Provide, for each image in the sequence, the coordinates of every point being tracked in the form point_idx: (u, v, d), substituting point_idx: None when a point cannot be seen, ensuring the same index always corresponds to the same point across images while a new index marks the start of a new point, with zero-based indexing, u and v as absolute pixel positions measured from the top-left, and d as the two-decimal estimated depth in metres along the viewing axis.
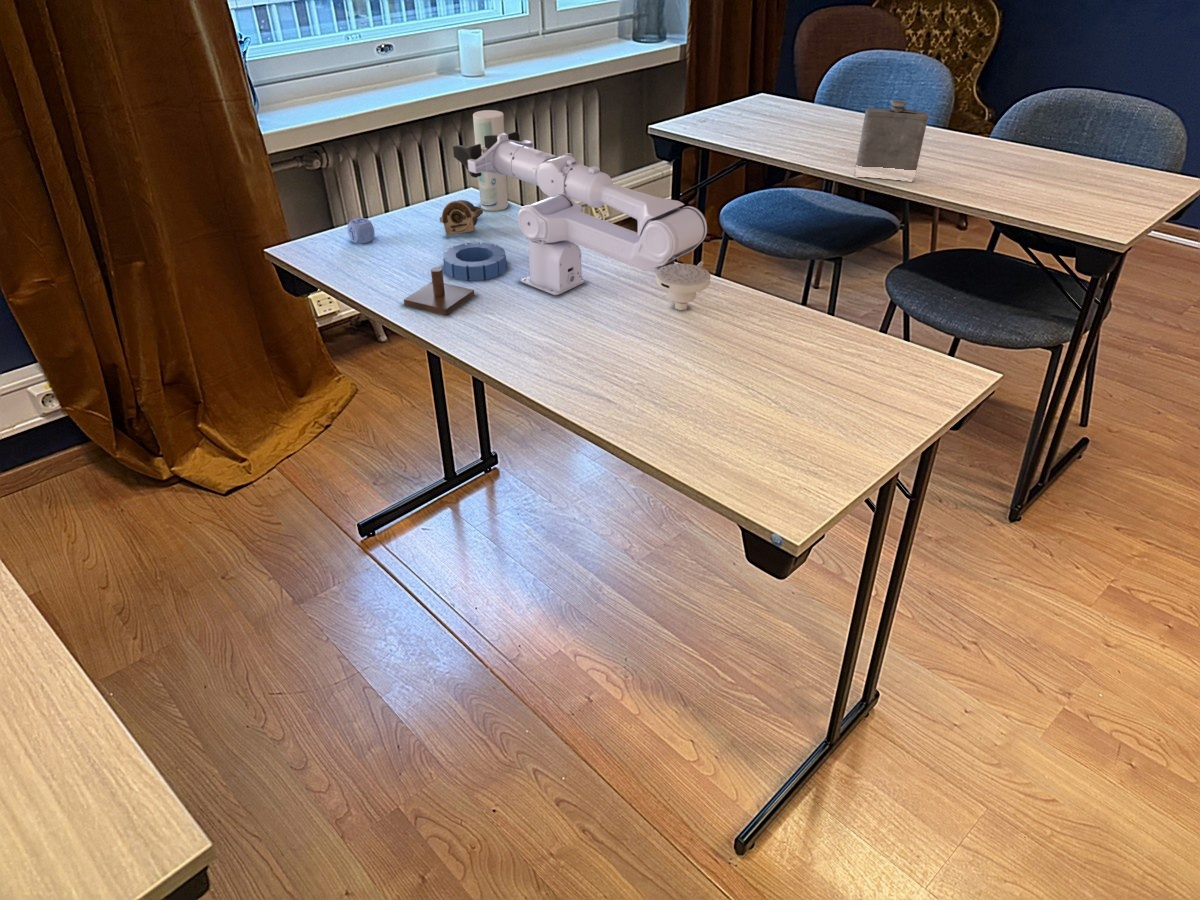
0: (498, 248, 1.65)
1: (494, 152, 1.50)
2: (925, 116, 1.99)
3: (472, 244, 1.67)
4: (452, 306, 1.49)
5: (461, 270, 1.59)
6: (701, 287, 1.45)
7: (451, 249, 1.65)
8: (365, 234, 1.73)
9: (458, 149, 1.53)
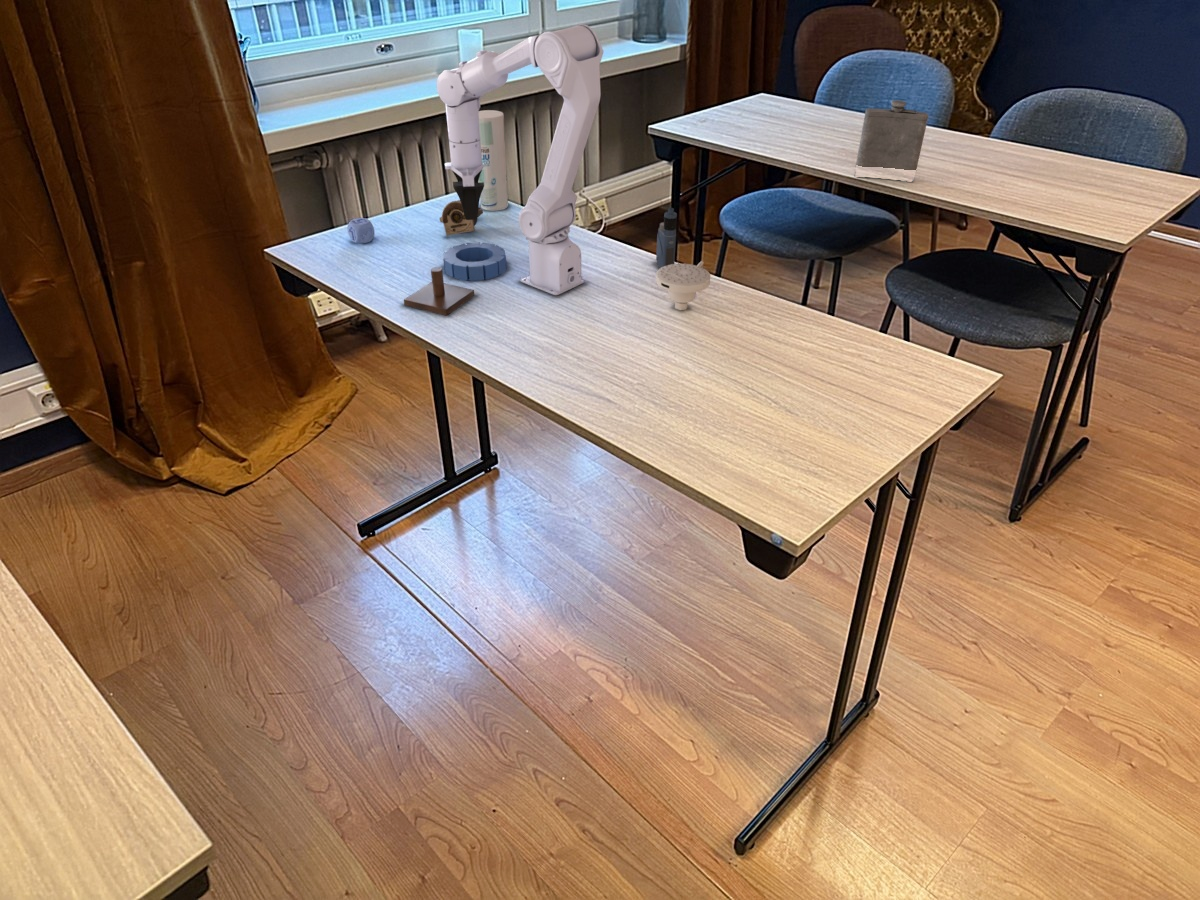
0: (498, 248, 1.65)
1: (458, 168, 1.55)
2: (925, 116, 1.99)
3: (472, 244, 1.67)
4: (452, 306, 1.49)
5: (461, 270, 1.59)
6: (701, 287, 1.45)
7: (451, 249, 1.65)
8: (365, 234, 1.73)
9: (466, 211, 1.58)
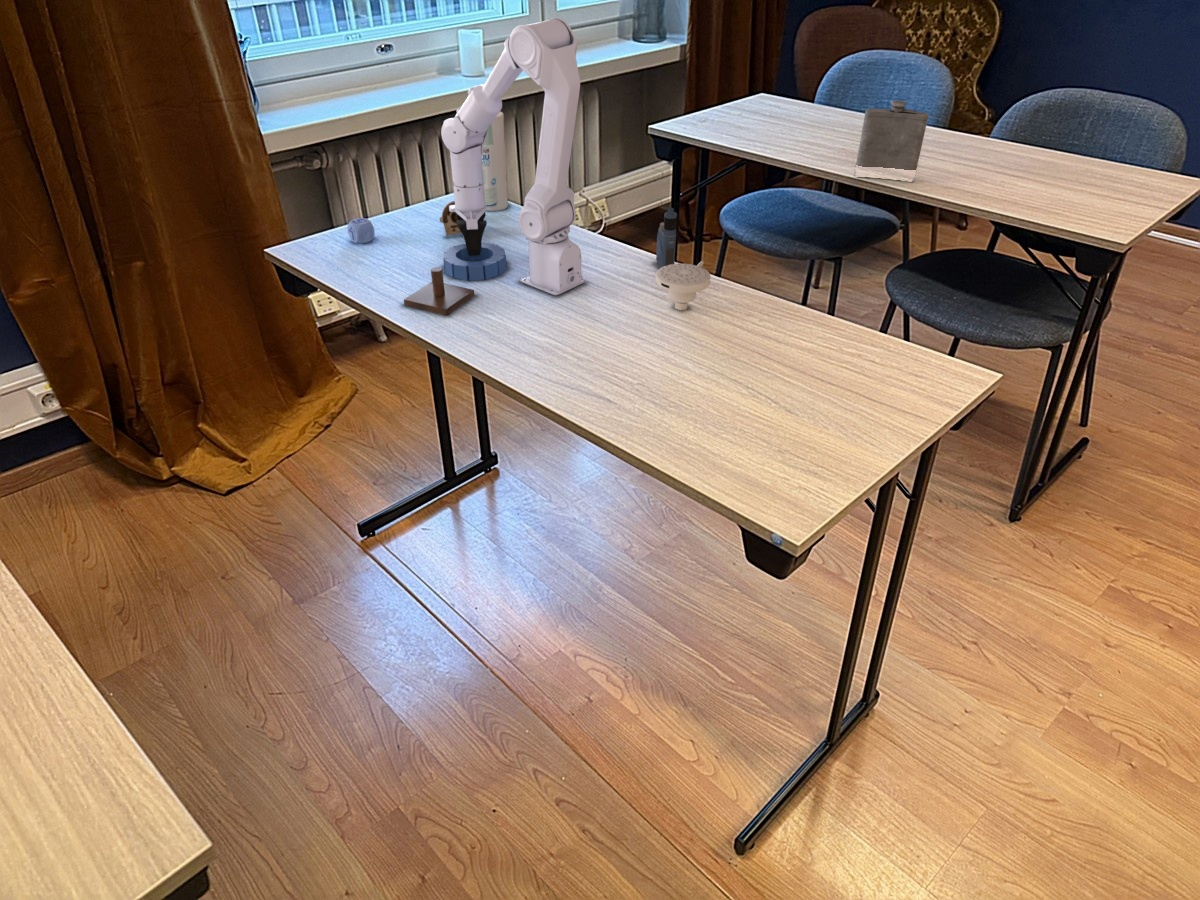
0: (498, 248, 1.65)
1: (462, 211, 1.60)
2: (925, 116, 1.99)
3: None
4: (452, 306, 1.49)
5: (461, 270, 1.59)
6: (701, 287, 1.45)
7: (451, 248, 1.65)
8: (365, 234, 1.73)
9: (469, 247, 1.64)
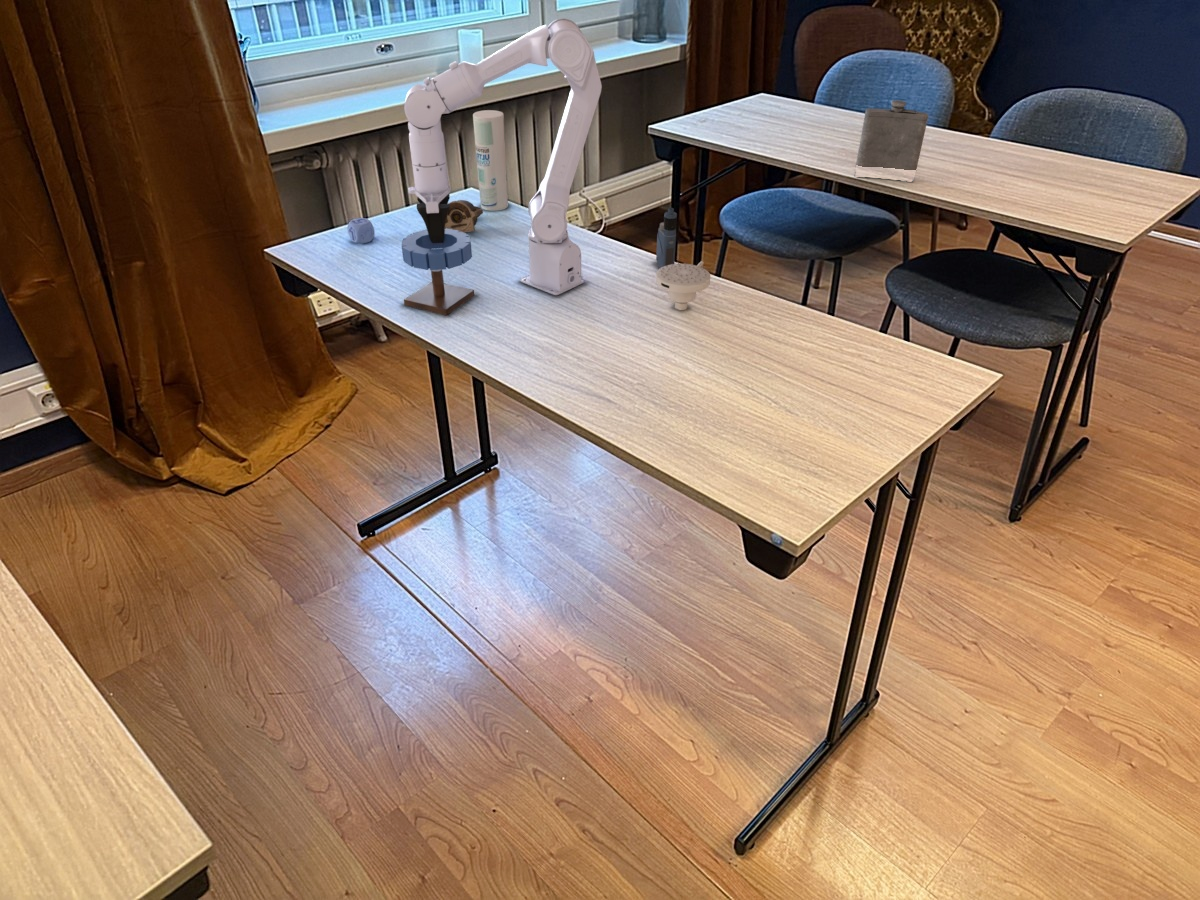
0: (463, 234, 1.50)
1: (422, 193, 1.44)
2: (925, 116, 1.99)
3: None
4: (452, 306, 1.49)
5: (420, 258, 1.43)
6: (701, 287, 1.45)
7: (411, 235, 1.49)
8: (365, 234, 1.73)
9: (431, 234, 1.49)
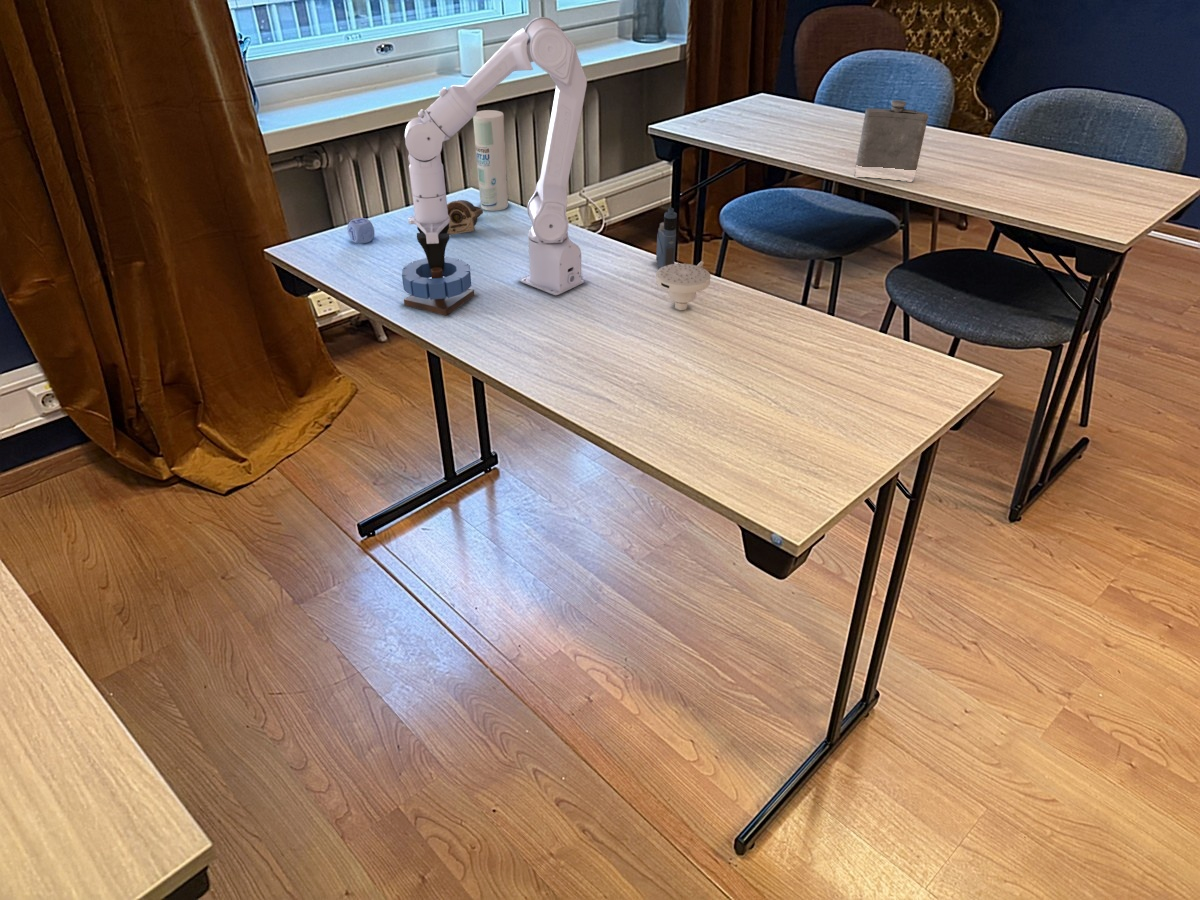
0: (462, 263, 1.52)
1: (422, 223, 1.46)
2: (925, 116, 1.99)
3: None
4: (452, 306, 1.49)
5: (420, 288, 1.45)
6: (701, 287, 1.45)
7: (411, 264, 1.51)
8: (365, 234, 1.73)
9: (431, 263, 1.51)
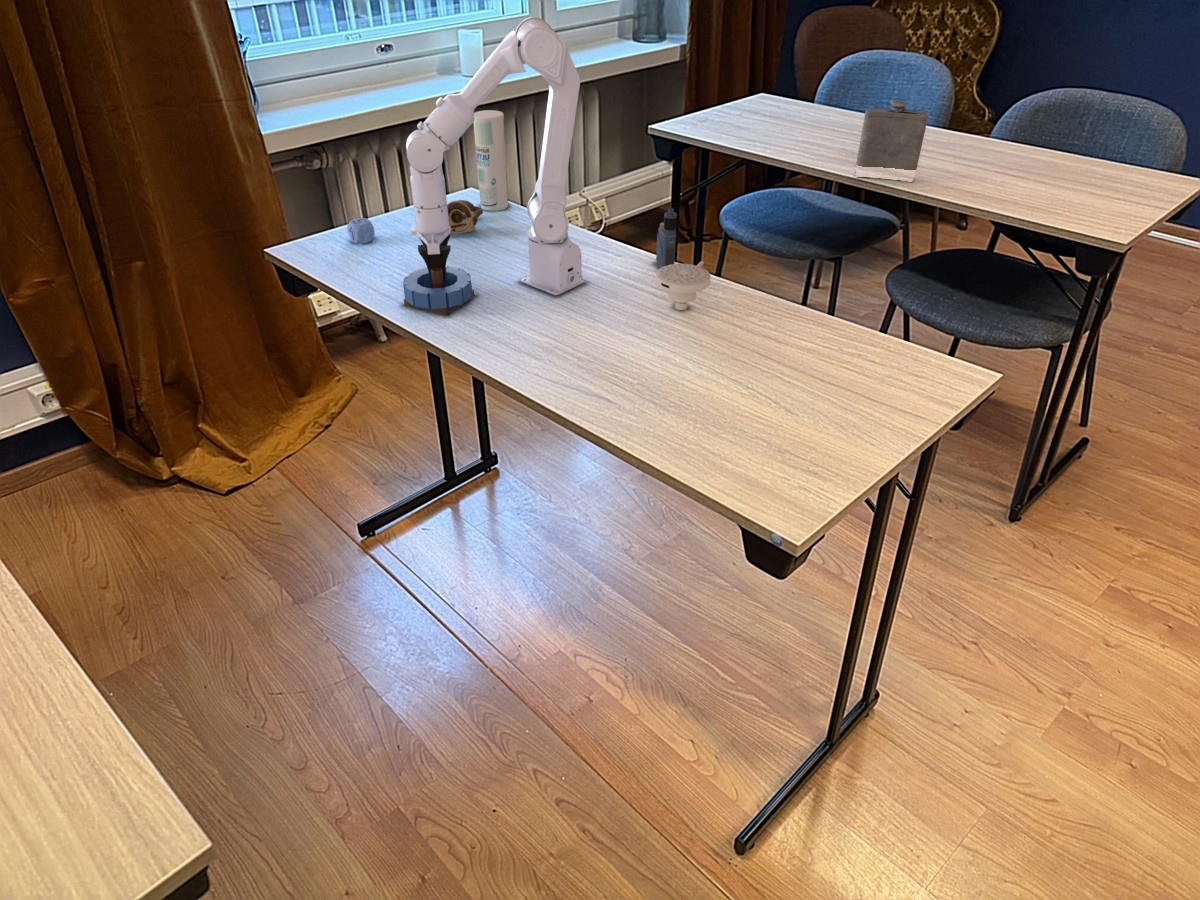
0: (463, 273, 1.53)
1: (424, 233, 1.47)
2: (925, 116, 1.99)
3: None
4: None
5: (422, 297, 1.46)
6: (701, 287, 1.45)
7: (412, 273, 1.52)
8: (365, 234, 1.73)
9: None
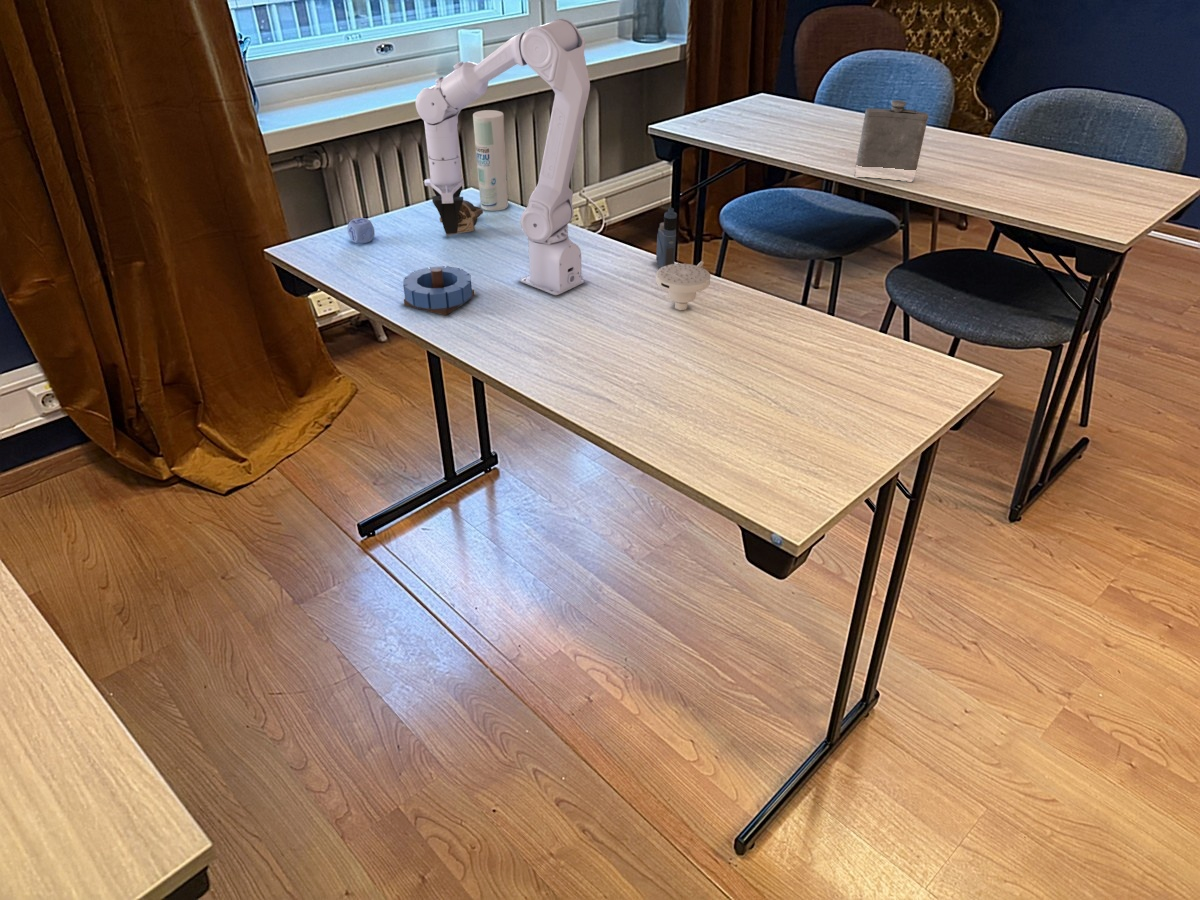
0: (463, 273, 1.53)
1: (438, 184, 1.55)
2: (925, 116, 1.99)
3: None
4: None
5: (422, 297, 1.46)
6: (701, 287, 1.45)
7: (412, 273, 1.52)
8: (365, 234, 1.73)
9: (445, 225, 1.59)
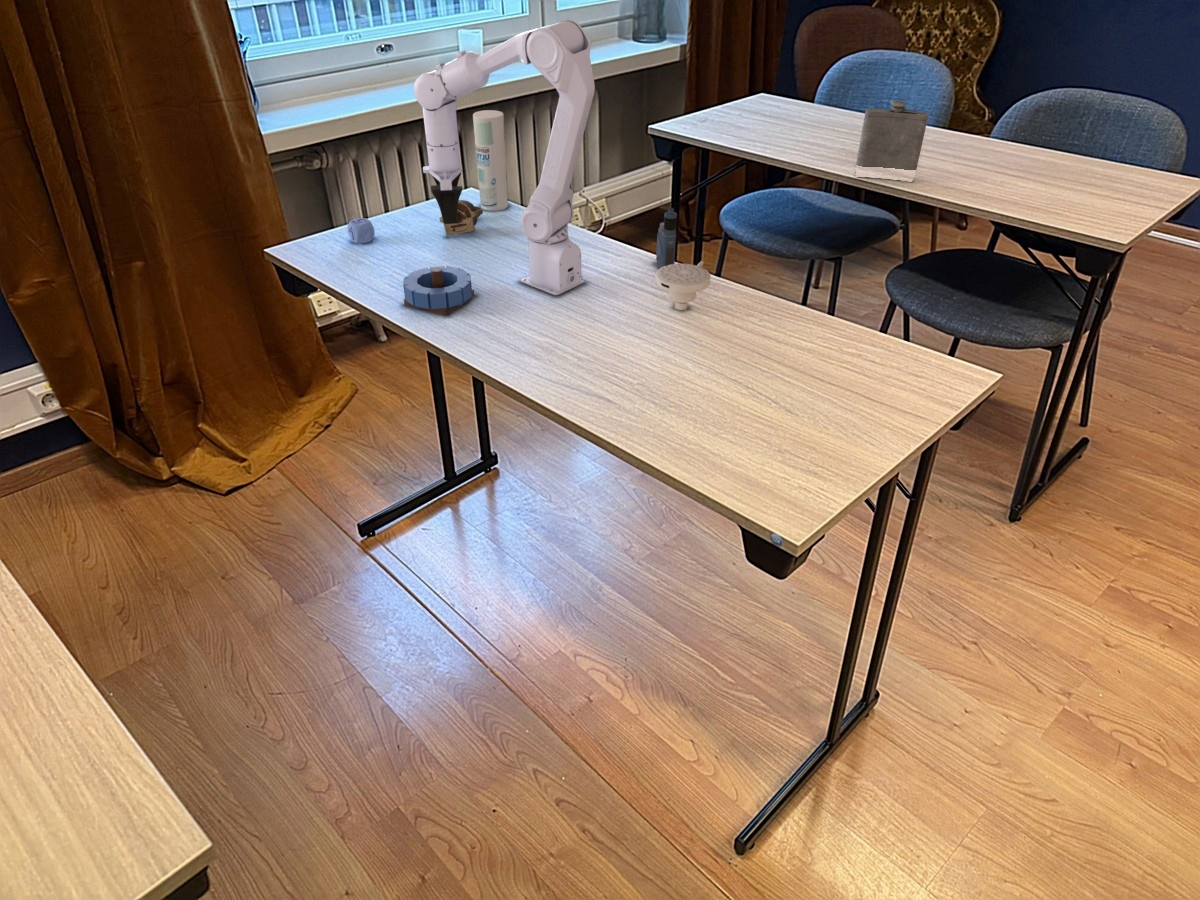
0: (463, 273, 1.53)
1: (436, 171, 1.53)
2: (925, 116, 1.99)
3: None
4: None
5: (422, 297, 1.46)
6: (701, 287, 1.45)
7: (412, 273, 1.52)
8: (365, 234, 1.73)
9: (444, 215, 1.56)
